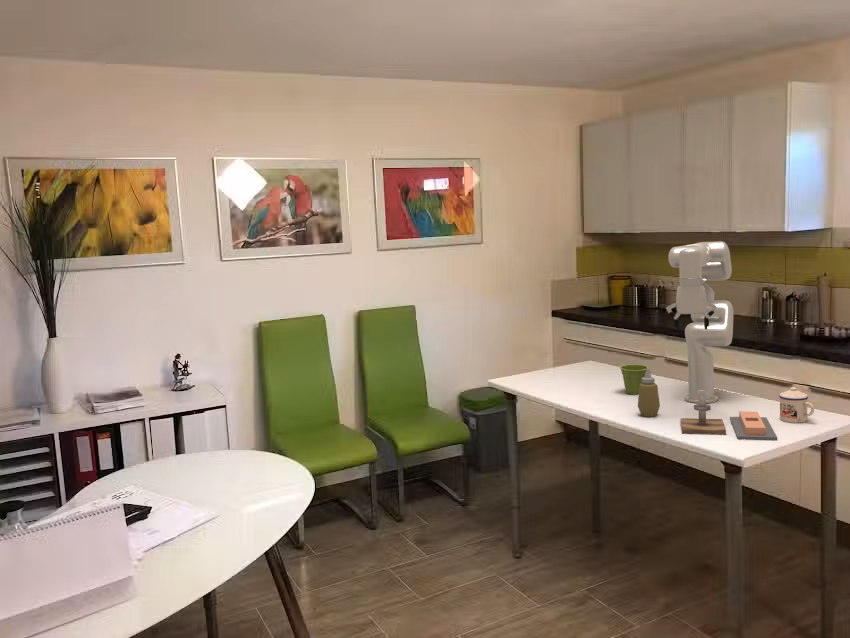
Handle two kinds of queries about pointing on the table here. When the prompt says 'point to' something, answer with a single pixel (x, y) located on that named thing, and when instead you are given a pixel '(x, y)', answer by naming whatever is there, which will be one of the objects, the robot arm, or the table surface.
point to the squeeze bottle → (648, 396)
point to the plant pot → (633, 377)
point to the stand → (702, 420)
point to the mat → (741, 435)
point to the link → (752, 423)
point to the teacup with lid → (794, 406)
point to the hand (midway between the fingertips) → (691, 329)
